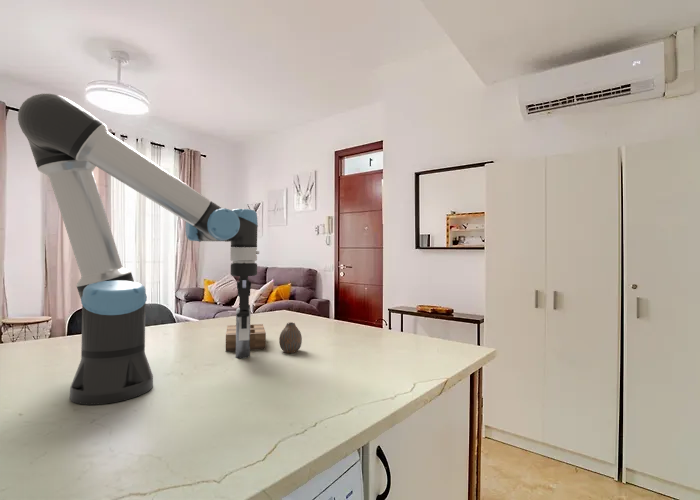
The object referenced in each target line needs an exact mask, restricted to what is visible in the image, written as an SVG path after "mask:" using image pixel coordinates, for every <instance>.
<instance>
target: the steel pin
mask: <svg viewBox="0 0 700 500" xmlns="http://www.w3.org/2000/svg"><path fill="white" fill-rule="evenodd" d="M239 312H240V307H236V309H235V313H236V314H235V325H236V351H235V358H236V359H248V358H250V357H251V356H250V355H251V350H250V325H251V307H250V308H249V340H240V341H239V317H237V314H238V313H239Z"/></svg>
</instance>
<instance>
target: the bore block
mask: <svg viewBox="0 0 700 500" xmlns="http://www.w3.org/2000/svg"><path fill="white" fill-rule="evenodd" d="M265 329H266V328H265V326H264V323H258V324H250V351H255V350H266V349H267V347H266V345H267V341H266V339H267V338H266V337H267V335H266V334H267V333H266V330H265ZM225 352H236V324H230V325H226V332H225Z"/></svg>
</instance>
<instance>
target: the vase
mask: <svg viewBox="0 0 700 500" xmlns="http://www.w3.org/2000/svg"><path fill="white" fill-rule="evenodd" d="M278 341H279V347H280V349H281V350H282V351H283V352H284V353H285V354H294V353H295V354H296V353H297V352H298V351H299V350H300V348H301V347H302V343H303V336H302V333H301V330H300V329H299V328H298V326H297V325H296V323H295V322H291V321H290V322H286V325H285V327H283V329H282V330H281V332H280V335H279V339H278Z"/></svg>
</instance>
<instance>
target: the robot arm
mask: <svg viewBox="0 0 700 500" xmlns="http://www.w3.org/2000/svg"><path fill="white" fill-rule="evenodd" d="M17 121H18V126H19V127H20V130H21V132H22V133H23V134H24V136H25V137H26V139H27V140H28V144H29V147H30V149H31V153H32V155H33V159H34V162H35V165H36V167H37V170H38V171H39V172H40V173H42V174H44V175H45V176H47V177H48V178H49V182H50V183H51V187H52V191H53V194H54V196H55V200H56V203H57V206H58V208H59V211H60V215H61V218H62V221H63V224H64V227H65V230H66V234H67V236H68V240H69V243H70V245H71V249H72V251H73V255H74V257H75V258H74V259H75V261H76V264H77V267H78V269H79V273H80V279H79V280H78V282H77V283H76V284H75V286H76V289H77V292H78V295H79V299H80V301H81V302H80V304H81V344H80V346H81V352H80V354H81V355H80V361H79V364H78V367H77V370H76V373H75V375H74V377H73V380H72V382H71V385H70V388H69V400H70V401H71V402H72V403H75V404H79V405H89V406H90V405H105V404H112V403H118V402H123V401H127V400H130V399H133V398H136V397H140V396H142V395H143V394H146V393H148V392H149V391H150V390H152V388H153V386H154V374H153V372H152V369H151V366H150V363H149V361H148V357H147V354H146V352H145V350H146V349H145V347H146V304H147V303H146V302H147V294H146V293H147V292H146V288H145V286H144V284H142V283H140V282H137V281H134V280H135V279H134V277H133V274H132V271H131V270H130V269H128V268H126V267H125V266H123V265H122V261H121V258H120V254H119V251H118V249H117V246H116V242H115V239H114V236H113V232H112V228H111V226H110V222H109V219H108V217H107V213H106V211H105V210H106V209H105V207H104V206H105V205H104V204H103V200H102V197H101V194H100V191H99V187H98V184H97V180H96V178H95V174H94V170H95V169H96V168H98V169H100V170H101V171H103V172H104V173H106V174H108V175H110V176H111V177H113V178H114V179H116V180H118V181H119V182H121V183H122V184H124V185H126V186H128V187H129V188H131V189H132V190H134V191H135V192H138V193H139V194H141V195H142V196H144V197H145V198H146V199H149V200H150V201H152V202H153V203H155V204H157V205H158V206H160V207H161V208H162V209H163V208H164V209H165V210H167V211H168V212H170V213H171V214H173V215H174V216H176V217H178V218H180V219H182V220H183V221H185V236H186V238H187V240H188V241H193V242H199V243H200V242H230V252H229V253H230V262H231V263H230V276H232V277H239V278H238V280H239V281H236V289H237V296H238V298H239V303H238V308H240V312H239V313H238V314H237V317H239V341H240V340H249V308H250V309H251V305H250V296H251V288H252V282H251V281H250V280H249V277H254V276H257V275H258V264H257V260H258V256H257V255H259V254H260V250H258V227H259V225H258V214H257V211H255V210H254V209H249V208H234V209H232V210H231V209H229V208H226V207H225V208H223V207H222V206H221V207H220V205H218V204H216V203H215V202H213V201H212V200H210V199H209V198H207V197H206V196H205V195H202V194H201V193H199V192H198V191H197V190H195V189H194V188H192V187H191V186H189V185H188V184H187V183H185V182H183V181H182V180H180V179H179V178H178V177H176V176H175V175H173V174H171V173H170V172H168V171H167V170H166V169H164V168H163V167H162V166H159V165H158V164H157V163H155V162H154V161H152V160H151V159H149V158H148V157H146V156H145V155H143V154H142V153H140V152H138V151H137V150H136V149H134V148H133V147H132V146H130V145H128V144H127V143H126V142H124V141H122V140H121V139H119V138H118V137H116V136H115V135H113V134H112V133H110V132H109V130H108V126H107V124H105V123H104V122H103V121H102V120H100V119H98V118H97V117H95V116H94V115H93V114H91V112H89V111H87V110H86V109H84V108H83V107H81V105H79V104H77V103H75V102H74V101H72V100H70V99H69V98H66V97H64V96H62V95H59V94H53V93H39V94H38V93H37V94H35V95H34V94H33V95H32V96H30V97H28V98H27V99H25V100H24V101H23V102H22V103H21V105H20V107H19V109H18V113H17Z"/></svg>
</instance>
